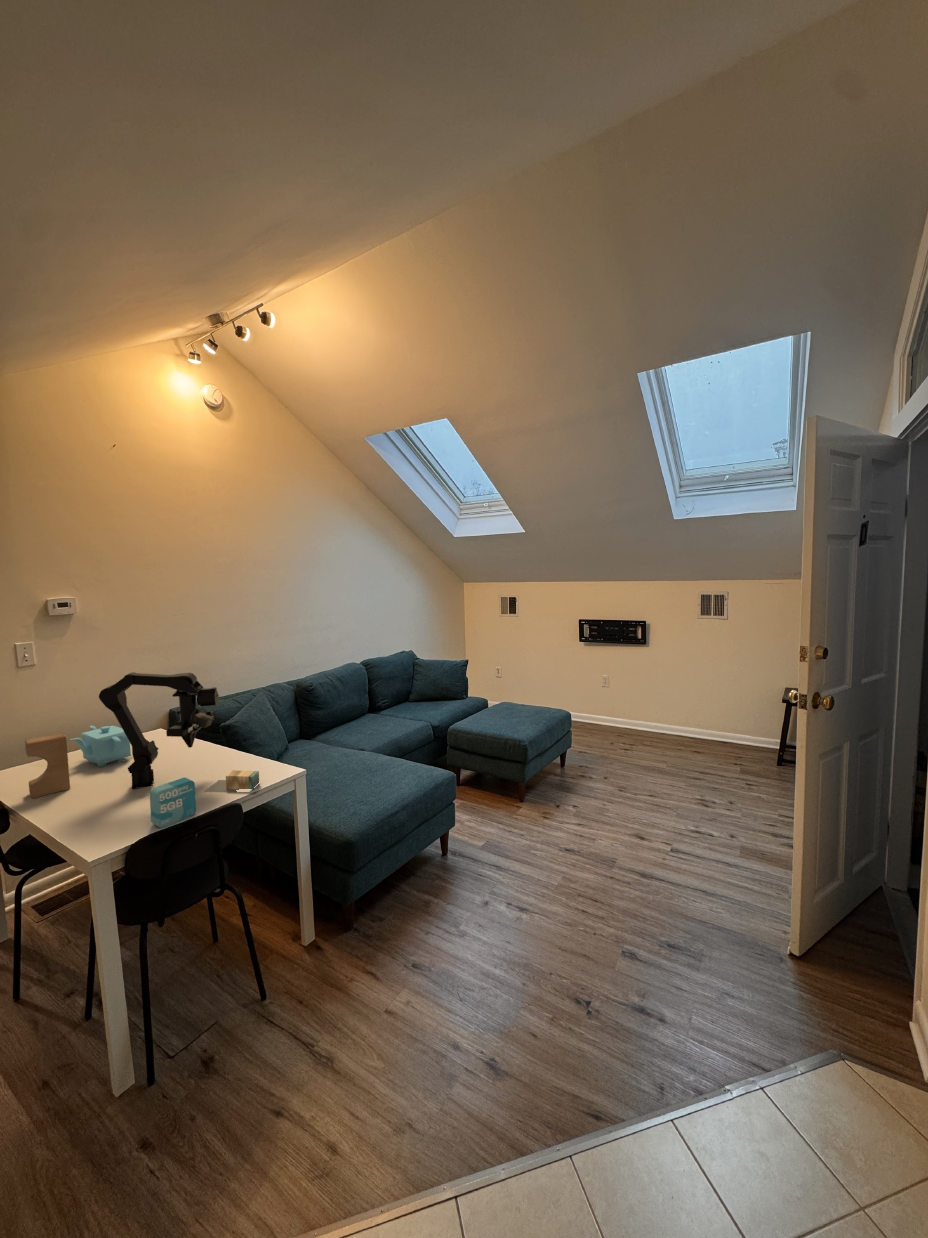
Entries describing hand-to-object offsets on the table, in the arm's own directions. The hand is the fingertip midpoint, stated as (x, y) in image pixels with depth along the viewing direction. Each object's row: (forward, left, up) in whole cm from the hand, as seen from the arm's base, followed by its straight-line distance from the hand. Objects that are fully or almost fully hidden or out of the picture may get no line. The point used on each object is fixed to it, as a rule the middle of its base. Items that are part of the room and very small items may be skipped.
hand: (190, 747), depth 193 cm
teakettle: (-28, +42, -13) cm, 52 cm away
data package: (-8, -31, -13) cm, 35 cm away
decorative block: (-44, +17, -13) cm, 49 cm away
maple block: (+11, -14, -10) cm, 21 cm away
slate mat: (+12, -15, -13) cm, 24 cm away
